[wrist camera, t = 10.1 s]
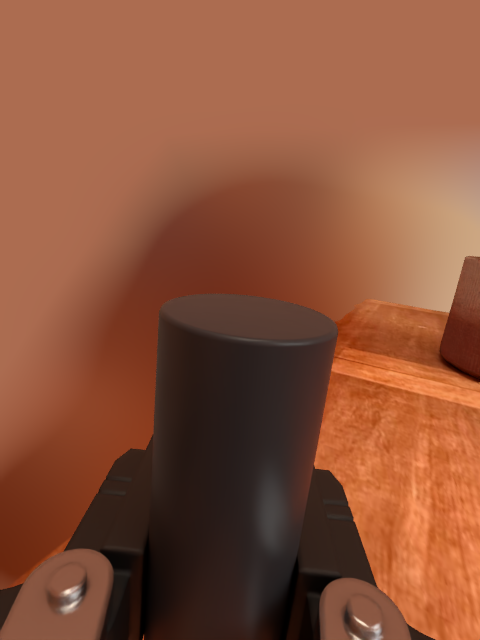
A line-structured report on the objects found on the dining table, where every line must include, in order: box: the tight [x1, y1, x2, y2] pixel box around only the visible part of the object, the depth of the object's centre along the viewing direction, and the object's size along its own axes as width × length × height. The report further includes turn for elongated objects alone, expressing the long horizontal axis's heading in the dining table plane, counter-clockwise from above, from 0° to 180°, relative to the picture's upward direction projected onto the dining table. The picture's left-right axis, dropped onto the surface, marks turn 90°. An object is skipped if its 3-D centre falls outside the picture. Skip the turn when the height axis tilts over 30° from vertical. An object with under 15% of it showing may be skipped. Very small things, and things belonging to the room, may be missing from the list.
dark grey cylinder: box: [144, 294, 338, 640], centre depth 7 cm, size 3×3×12 cm
